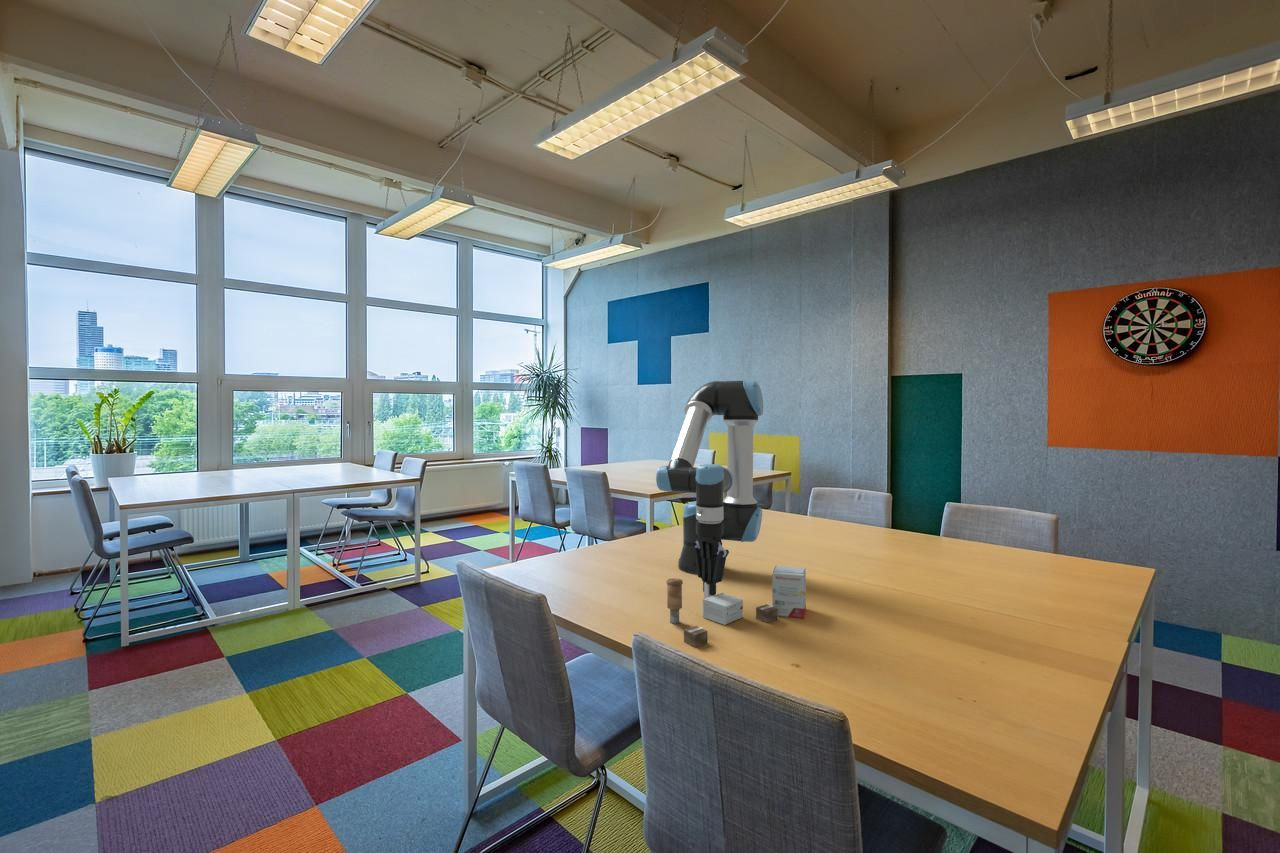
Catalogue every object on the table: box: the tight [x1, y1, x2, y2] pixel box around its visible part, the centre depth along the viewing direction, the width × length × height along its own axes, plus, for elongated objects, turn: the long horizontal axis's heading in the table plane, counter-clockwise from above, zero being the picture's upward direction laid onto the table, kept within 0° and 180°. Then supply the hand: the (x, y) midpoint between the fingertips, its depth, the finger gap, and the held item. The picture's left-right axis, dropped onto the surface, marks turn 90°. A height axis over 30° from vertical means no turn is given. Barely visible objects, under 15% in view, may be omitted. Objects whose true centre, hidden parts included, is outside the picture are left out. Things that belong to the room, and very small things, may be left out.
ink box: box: [771, 564, 807, 619], centre depth 159 cm, size 9×9×12 cm
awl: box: [666, 577, 683, 625], centre depth 152 cm, size 4×4×11 cm
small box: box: [702, 592, 744, 626], centre depth 155 cm, size 8×8×5 cm
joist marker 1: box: [683, 625, 708, 648], centre depth 140 cm, size 4×4×3 cm
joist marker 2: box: [755, 604, 779, 624], centre depth 154 cm, size 4×4×3 cm
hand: (709, 605), depth 160 cm, fingers closed
